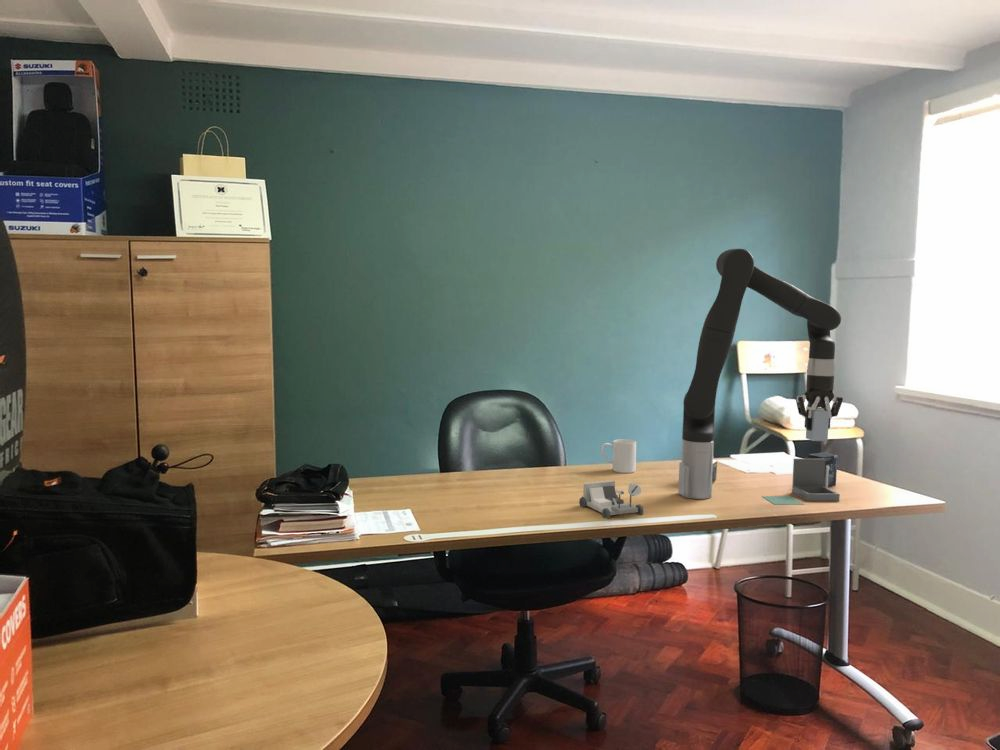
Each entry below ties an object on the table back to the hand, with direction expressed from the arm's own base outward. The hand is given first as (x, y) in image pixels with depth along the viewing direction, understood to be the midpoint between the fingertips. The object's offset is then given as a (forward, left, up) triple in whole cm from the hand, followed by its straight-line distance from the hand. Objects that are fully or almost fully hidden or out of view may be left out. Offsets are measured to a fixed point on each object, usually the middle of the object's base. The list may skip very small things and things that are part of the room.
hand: (817, 429), depth 222 cm
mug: (-52, +37, -21) cm, 67 cm away
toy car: (-64, -14, -22) cm, 69 cm away
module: (0, 0, -3) cm, 3 cm away
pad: (-11, -4, -21) cm, 24 cm away
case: (+1, 0, -21) cm, 21 cm away
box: (+10, +15, -21) cm, 28 cm away
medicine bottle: (-27, +21, -21) cm, 40 cm away
